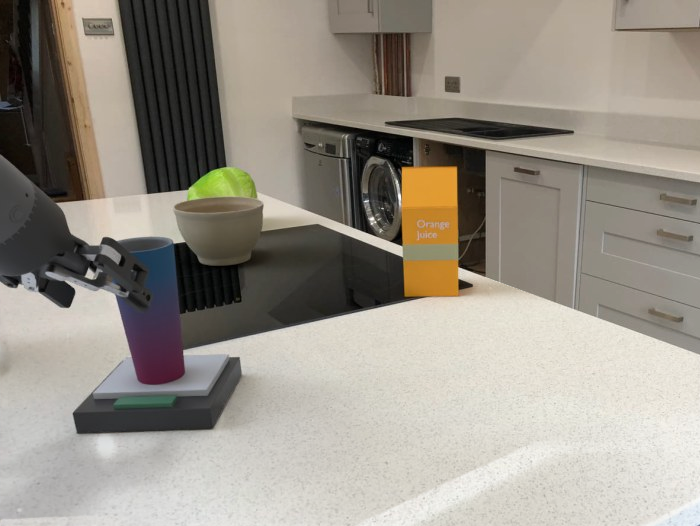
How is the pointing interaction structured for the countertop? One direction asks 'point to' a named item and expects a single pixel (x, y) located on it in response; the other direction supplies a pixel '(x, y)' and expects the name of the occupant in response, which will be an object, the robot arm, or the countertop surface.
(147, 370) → the cup
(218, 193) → the lettuce
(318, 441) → the countertop surface
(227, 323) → the countertop surface
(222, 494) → the countertop surface
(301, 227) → the countertop surface
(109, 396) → the scale
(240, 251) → the planter bowl
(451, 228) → the orange juice
